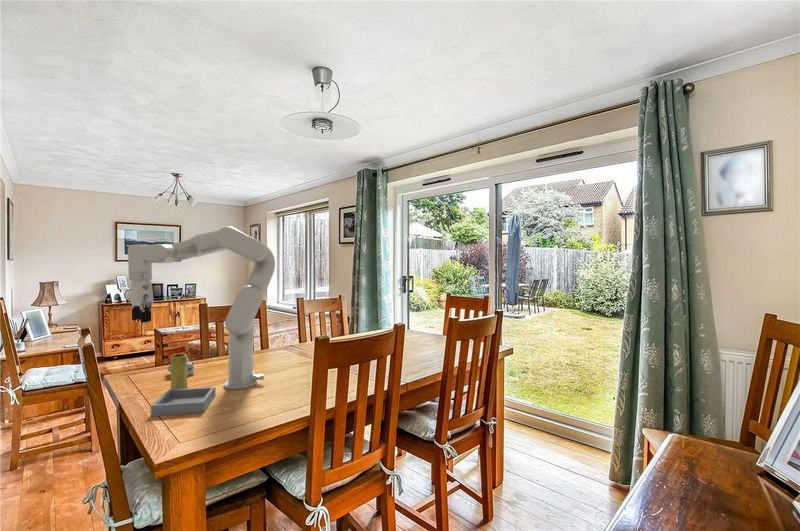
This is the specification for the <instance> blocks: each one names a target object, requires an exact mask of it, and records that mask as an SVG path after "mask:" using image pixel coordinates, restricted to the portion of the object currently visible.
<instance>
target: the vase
mask: <svg viewBox="0 0 800 531" xmlns="http://www.w3.org/2000/svg"><path fill="white" fill-rule="evenodd" d="M187 357H188V356H187V354H186V353H176V354H172V355H171V356H170V364H171V372H170V389H169V390H172V389H189V388H188V373H187Z"/></svg>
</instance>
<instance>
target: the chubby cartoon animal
mask: <svg viewBox="0 0 800 531" xmlns="http://www.w3.org/2000/svg"><path fill="white" fill-rule="evenodd" d="M194 363H195V362H194V361H193V362H190V360H189V357H188V356H187V375H190V376H191V375H193V374H195V370H196V368H195V367H194ZM167 371H168V372H170V373H171V363H170V364H169V365H168V368H167Z"/></svg>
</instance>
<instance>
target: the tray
mask: <svg viewBox="0 0 800 531" xmlns="http://www.w3.org/2000/svg"><path fill="white" fill-rule="evenodd" d="M215 397H216V386H210V387H209V386H208V387H205V386H204V387H193V388H192V387H191V388H188V389H172V390H170V389H168V390H167V391H166V392H164V393H163V394H162V395H161V396H160V397H159V398H157V400H156V401H155V402H153V403H152V404H151V406H150V417H163V416H172V415H173V416H174V415H175V416H176V415H189V414H201V413H202V414H204V413H205V412H206V410H207V409H208V407H209V406H210V405H211V403H212V402H213V400H214V399H215Z"/></svg>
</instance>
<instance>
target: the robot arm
mask: <svg viewBox="0 0 800 531" xmlns="http://www.w3.org/2000/svg"><path fill="white" fill-rule="evenodd" d="M228 250H229V251H230V252H232V253H234V254H236V255H238V256H240V257H242V258H244V259H246V260H249V261H251V262H253V267H252V269H251V272H250V273H249V277H248V278H247V280H246V282H245V284H244V286H243V287H241V289H240V290H238V292H237V294H236V296H235V298H234V300H233V302H232V305H231V307H230V308H229V311H228V314H227V315H226V318H225V321H224V327H225V330H226V332H228V341H227V342H228V343H227V344H228V345H227V346H228V348H227V349H228V352H227V353H228V354H227V355H228V359H227V360H228V365H227V366H228V371H227V374H228V375H227V376H228V377H227V379H228V380H226V381H225V382H224V384H223V387H224V388H226V389H227V390H242V389H243V390H244V389H248V388H251V387H255V386H256V385H257V384H258V380H259V381H264V380H265V375H264V374H262V373H259V374H257V373H256V371H255V370H254V334H255V333H254V332H255V331H254V328H255V318H256V316H257V313H258V312H259V309H260V306H261V304H262V303H263V301H264V297H265V294H266V292H267V289H268V287H269V285H270V282H271V280H272V278H273V275H274V272H275V268H276V259H275V256H274V254H273V252H272V250H271V249H270V248H269V246H268V245H266V243H264V242H263V241H260V240H258V239H256V238H254V237H252V236H250V235H248V234H246V233H244V232H242V231H240V230H239V229H237V228H235V227H233V226H229V225H228V226H224V227H221V228H220V229H219V230H214V231H207V232H205V233H199V234H196V235H194V236H192V237H191V238H189V239H186V240H183V241H179V242H173V243H169V244H167V243H166V244H164V243H157V244H156V243H155V244H130V245H129V246H128V248H127V258H128V259H127V260H128V264H127V265H128V266H127V267H128V281H129V282H130V295H129V296H130V305H131V320H132V321H135V320H136V321H137V320H141V322H140V323H150V322H152V306H153V305H154V293H153V292H154V291H153V283H152V280H153V264H152V263H154V264H171V263H175V262H179V261H184V260H189V259H191V258H197V257H202V256H206V255H211V254H214V253H220V252H224V251H228Z"/></svg>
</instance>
